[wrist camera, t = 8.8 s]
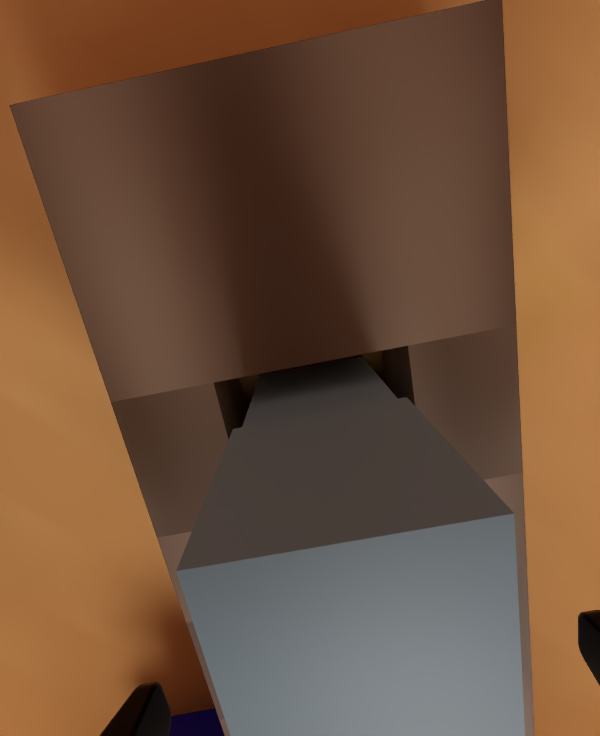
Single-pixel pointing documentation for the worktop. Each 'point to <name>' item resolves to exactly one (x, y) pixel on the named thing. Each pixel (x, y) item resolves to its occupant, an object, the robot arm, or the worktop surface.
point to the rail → (294, 245)
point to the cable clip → (196, 724)
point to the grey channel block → (353, 570)
